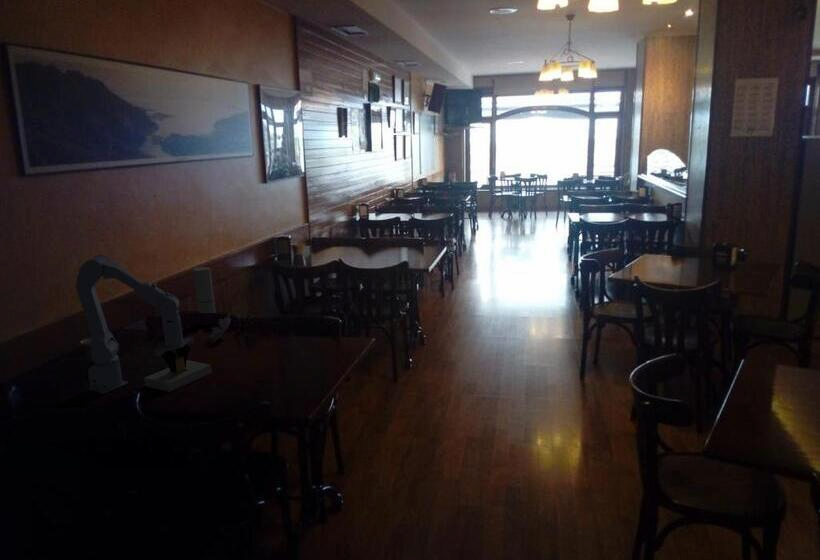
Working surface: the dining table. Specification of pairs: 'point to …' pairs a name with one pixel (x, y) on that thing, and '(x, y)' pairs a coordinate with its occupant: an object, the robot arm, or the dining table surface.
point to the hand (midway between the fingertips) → (178, 369)
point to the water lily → (221, 328)
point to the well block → (177, 376)
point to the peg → (179, 365)
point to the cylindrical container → (204, 290)
